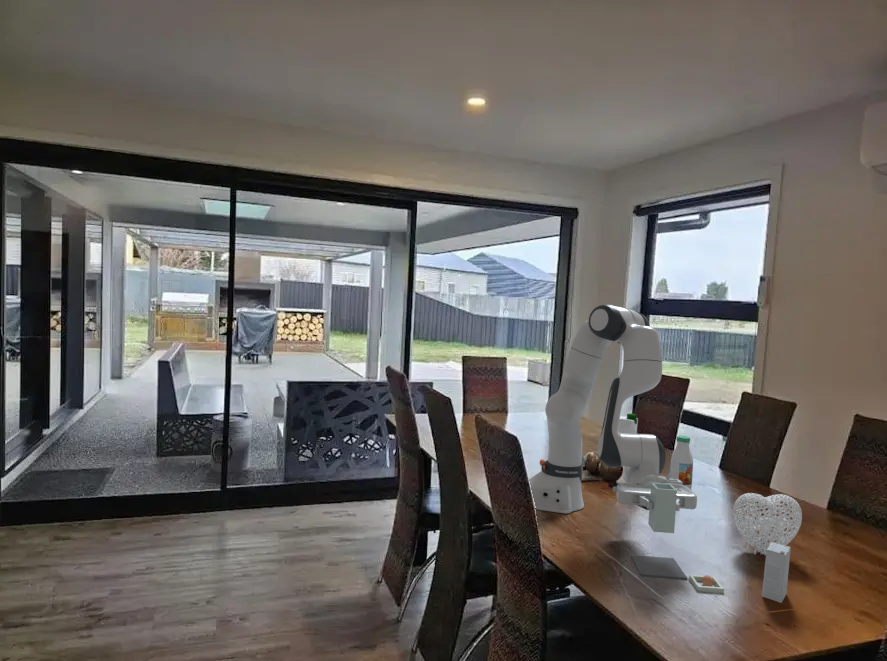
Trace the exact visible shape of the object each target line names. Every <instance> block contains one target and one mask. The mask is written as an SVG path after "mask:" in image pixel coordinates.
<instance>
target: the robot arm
mask: <svg viewBox="0 0 887 661" xmlns="http://www.w3.org/2000/svg"><path fill="white" fill-rule="evenodd" d="M613 342H615V343H617V344H621V346H622V350H623V359H622V360H623V363H622V369H621V372H620V374H619V375H618V377H615V378H614V379H613V381H612V382H611V385H610V388H609V392H608V396H607V401H606V407H605V413H604V417H603V423H602V427H601V428H602V429H601V432H600V437H599V440H598V442H597V448H596V449H597V450H596V451H597V458H598V459H599V460H600V462H601V463H603V464H604V465H605V466H606V467H607V468H621V467H622V468H623V469H622V470H623V471H622V476H623V480H624V483H618V484H617V486H612V491H613V493H616V500H617V502H618V503H619V504H620V505H621V504H622V505H628V506H629V505H631V506H643V507H646V509H648V510H649V509H653V508H654V507H653V506H654V502H653V501H652V500H650V493H651V483H662V484H671V485H672V486H673V487H674V488H675V489H676V490H677V499H676V512H680V509H684V510H685V509H686V510H695V509H696V508H697V506H698V505H697V504H698V497H697V494H696V493H695V492H694V491H693V490H692V489H691V490H690V489H689V488H688V487H686V486H684V485H683V483H682V481H680V480H676V479H671V478H670V477H666V476H663V475H660V474H661V473H662V472H663V470H664V469H665V464H666V450H665V446H664V444H663V443H662V441H661V440H660V439H659V437H657V435H655V434H650V433H637V434H628V433H619V432H618V424H619V419H620V416H621V413H622V407H623V405H624V403H625V402H626V401H627V400H628V399H630V398H632V397H634V396H638V395H640V394H643V393H647V392H649V391H650V390H654V388H655V387H657V385H658V384H660V382H661V380H662V377H663V376H662V375H663V354H662V353H663V352H662V346H661V339H660V335H659V333H658V331H657V330H656V329H655V328H653V327H651V326H650V322H649V320H648V318H647V317H646V316H645V315H644V314H642V313H641V312H639V311H636V310H633V309H630V308H628V307H623V306H616V305H613V304H600V305H598V306H596V307H594V308H593V309H592V311H591V312H590V313H589V316H588V319H586V320H585V321H584V322H582V323H581V325H580V327H579V328H578V330H577V332H576V334H575V335H574V339H573V340H572V343H571V346H570V349H569V352H568V354H567V357H566V359H565V363H564V365H563V368H562V376H561V382H560V384H559V389H558V391H557V392H555V393H554V394H551V396H549V397H548V400H547V402H546V404H545V415H546V421H547V422H546V423H547V432H548V453H547V454H548V456H547V460H545V459H544V458H543V459H542V458H541V459H540V460H539V465H540V466H541V467H540V468H541V471H540V472H538V473H536V474H535V475H533V476H532V477H530V478H528V479H529V481H530V485H531V490H532V494H533V498H534V502H535V506H536V509H535V510H539V511H545V512H553V513H561V514H571V513H572V512H575V511H580V510H582V509H583V508H585V504H584V500H583V495H582V494H583V492H582V480H583V471H584V468H583V464H582V463H583V462H582V456H583V438H582V430H581V418H582V417H583V416H584V415H585V413H586V412H587V410H588V407H589V404H590V400H591V398H592V393H593V392H594V391H593V390H594V385H595V384H596V378H597V376H598V374H599V371H600V368H601V365H602V363H603V360H604V357H605V355H606V351H607V349H608V347H609V345H611V344H612V343H613Z"/></svg>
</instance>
